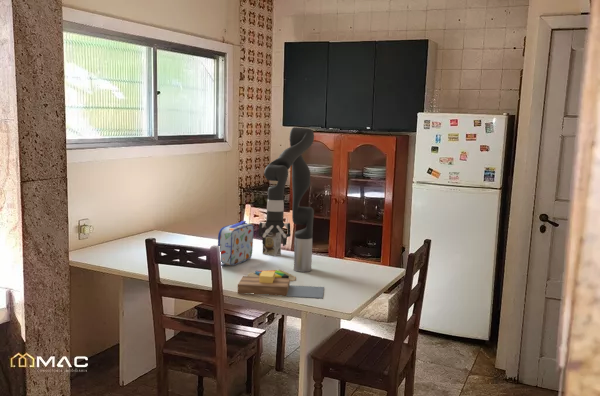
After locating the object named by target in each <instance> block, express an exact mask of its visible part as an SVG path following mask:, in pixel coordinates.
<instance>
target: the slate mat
mask: <svg viewBox="0 0 600 396" xmlns="http://www.w3.org/2000/svg"><path fill="white" fill-rule="evenodd" d="M324 288H325V286H315V285H314V286H313V285H311V286H310V285H293V284H292V285H291V284H290V286H289V289H288V293H287V296H285V297H287V298H302V299H303V298H305V299H307V298H308V299H324Z"/></svg>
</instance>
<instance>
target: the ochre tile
mask: <svg viewBox="0 0 600 396" xmlns="http://www.w3.org/2000/svg"><path fill="white" fill-rule="evenodd" d="M261 271H262V272H261V274H260V277H259V283H273V281H274V279H275V271H267V270H261Z"/></svg>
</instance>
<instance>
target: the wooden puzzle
mask: <svg viewBox="0 0 600 396" xmlns="http://www.w3.org/2000/svg"><path fill="white" fill-rule="evenodd" d="M262 271H263V270H255V271H254V272H249V273H248V274H247V275H246V276H251V277H260V274H261V272H262ZM266 271H275V278H290V282H294V281H295V282H296V281H297V277H296V276H295V275H293V274H291V273H289V272H286V271H285V270H282V269H271V270H269V269H268V270H266Z"/></svg>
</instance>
